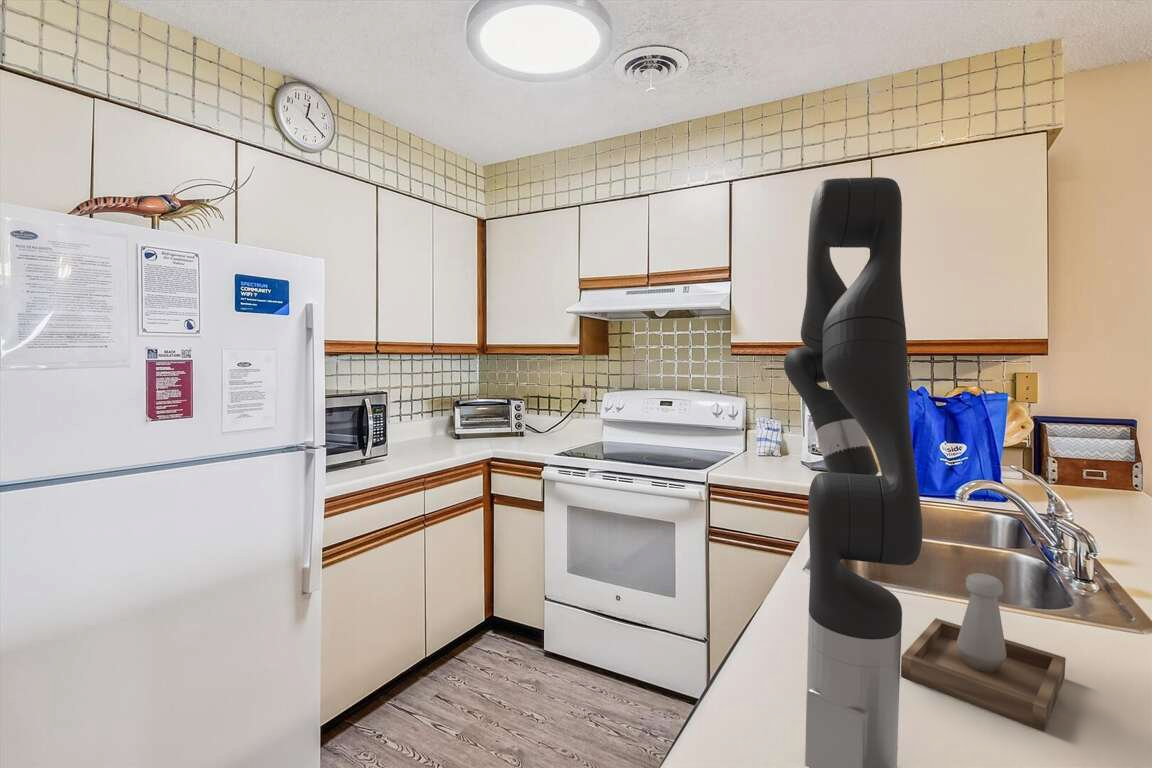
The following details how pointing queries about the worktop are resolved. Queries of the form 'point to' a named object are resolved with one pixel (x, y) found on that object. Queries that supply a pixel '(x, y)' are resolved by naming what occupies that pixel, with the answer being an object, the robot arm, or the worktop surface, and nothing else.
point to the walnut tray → (987, 675)
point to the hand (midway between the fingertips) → (880, 549)
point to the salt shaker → (982, 625)
